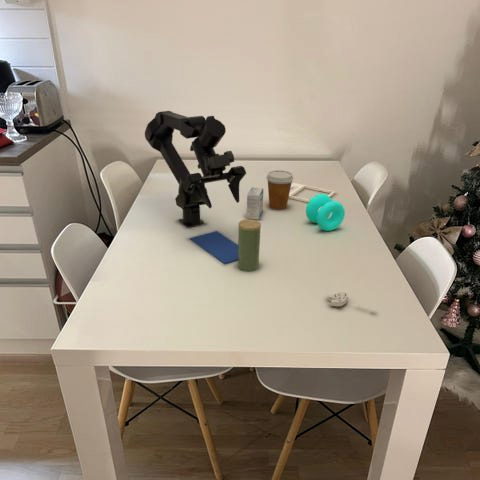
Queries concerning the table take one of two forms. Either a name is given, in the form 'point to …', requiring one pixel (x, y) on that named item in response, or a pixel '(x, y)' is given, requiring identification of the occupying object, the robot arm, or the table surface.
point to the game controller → (339, 299)
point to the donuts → (325, 212)
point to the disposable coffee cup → (279, 188)
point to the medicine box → (254, 203)
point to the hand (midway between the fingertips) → (224, 204)
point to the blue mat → (218, 246)
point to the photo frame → (297, 187)
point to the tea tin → (248, 244)
